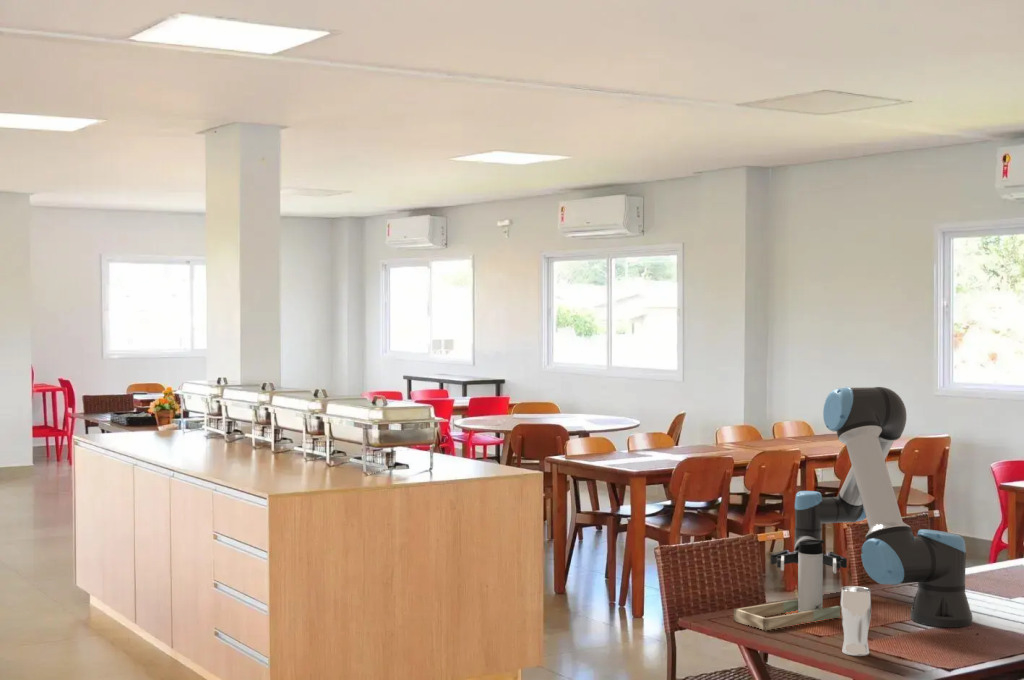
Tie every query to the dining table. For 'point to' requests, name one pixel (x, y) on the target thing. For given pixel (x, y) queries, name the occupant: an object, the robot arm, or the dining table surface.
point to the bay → (757, 615)
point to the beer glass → (855, 619)
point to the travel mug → (810, 575)
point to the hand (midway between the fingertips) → (808, 566)
